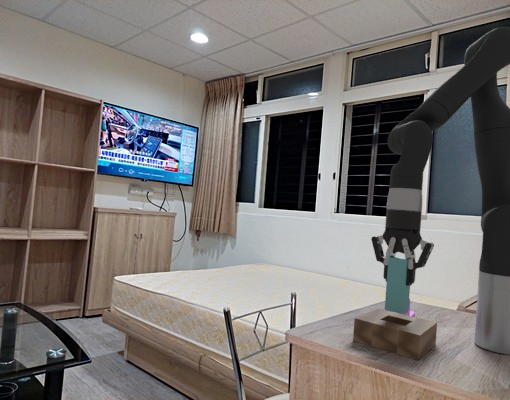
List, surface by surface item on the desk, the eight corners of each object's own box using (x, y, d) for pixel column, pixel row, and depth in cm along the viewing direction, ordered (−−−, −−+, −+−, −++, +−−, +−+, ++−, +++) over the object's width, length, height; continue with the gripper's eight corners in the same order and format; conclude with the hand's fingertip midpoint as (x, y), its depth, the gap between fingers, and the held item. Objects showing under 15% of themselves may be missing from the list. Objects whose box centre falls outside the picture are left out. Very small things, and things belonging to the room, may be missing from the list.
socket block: (435, 344, 85) (437, 322, 85) (418, 360, 74) (420, 335, 75) (376, 328, 94) (377, 308, 94) (353, 340, 83) (354, 318, 83)
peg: (408, 311, 85) (412, 259, 85) (402, 314, 82) (406, 260, 82) (390, 307, 87) (394, 256, 88) (384, 309, 84) (388, 257, 85)
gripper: (441, 212, 84) (435, 288, 83) (379, 207, 93) (374, 276, 92) (432, 210, 78) (426, 292, 77) (367, 206, 87) (362, 279, 86)
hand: (398, 283), depth 85 cm, fingers closed on peg, 4 cm apart
